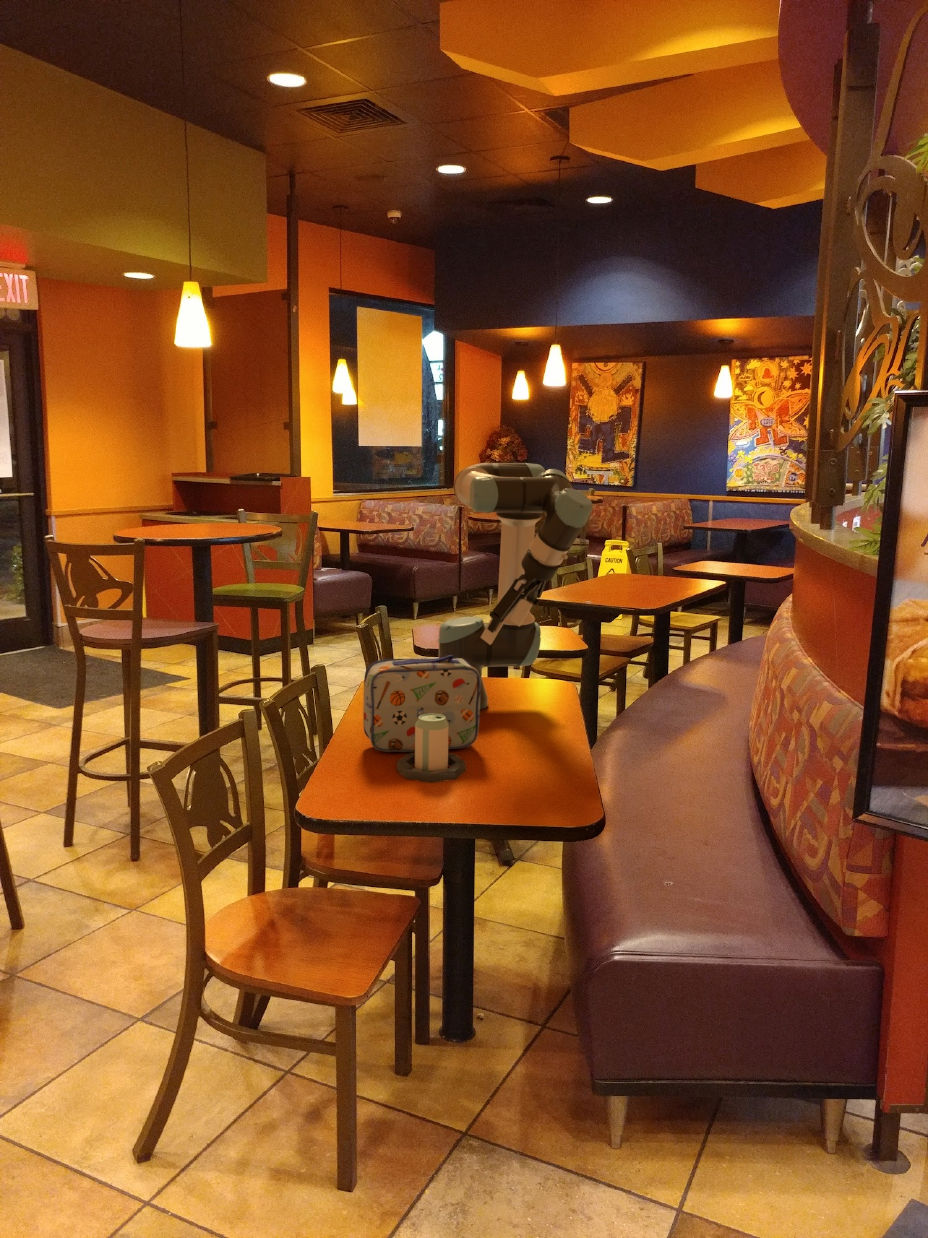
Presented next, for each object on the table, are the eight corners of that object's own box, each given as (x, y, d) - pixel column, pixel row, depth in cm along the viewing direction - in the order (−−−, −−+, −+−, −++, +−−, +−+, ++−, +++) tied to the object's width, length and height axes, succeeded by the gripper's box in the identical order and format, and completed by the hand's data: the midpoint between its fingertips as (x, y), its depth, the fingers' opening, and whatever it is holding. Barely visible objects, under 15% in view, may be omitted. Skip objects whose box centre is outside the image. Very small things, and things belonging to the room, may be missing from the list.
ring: (415, 757, 215) (415, 748, 214) (472, 765, 210) (472, 756, 210) (388, 776, 202) (388, 767, 202) (448, 785, 197) (448, 776, 197)
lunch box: (474, 737, 230) (476, 647, 226) (487, 750, 221) (489, 656, 216) (360, 744, 223) (360, 651, 219) (368, 758, 213) (368, 662, 209)
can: (422, 763, 211) (423, 710, 208) (452, 768, 208) (453, 714, 206) (409, 773, 204) (409, 719, 202) (439, 778, 202) (440, 723, 199)
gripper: (531, 582, 192) (486, 659, 203) (582, 553, 212) (538, 625, 223) (502, 560, 194) (459, 638, 205) (555, 533, 214) (513, 606, 225)
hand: (500, 631), depth 214 cm, fingers open, 13 cm apart
